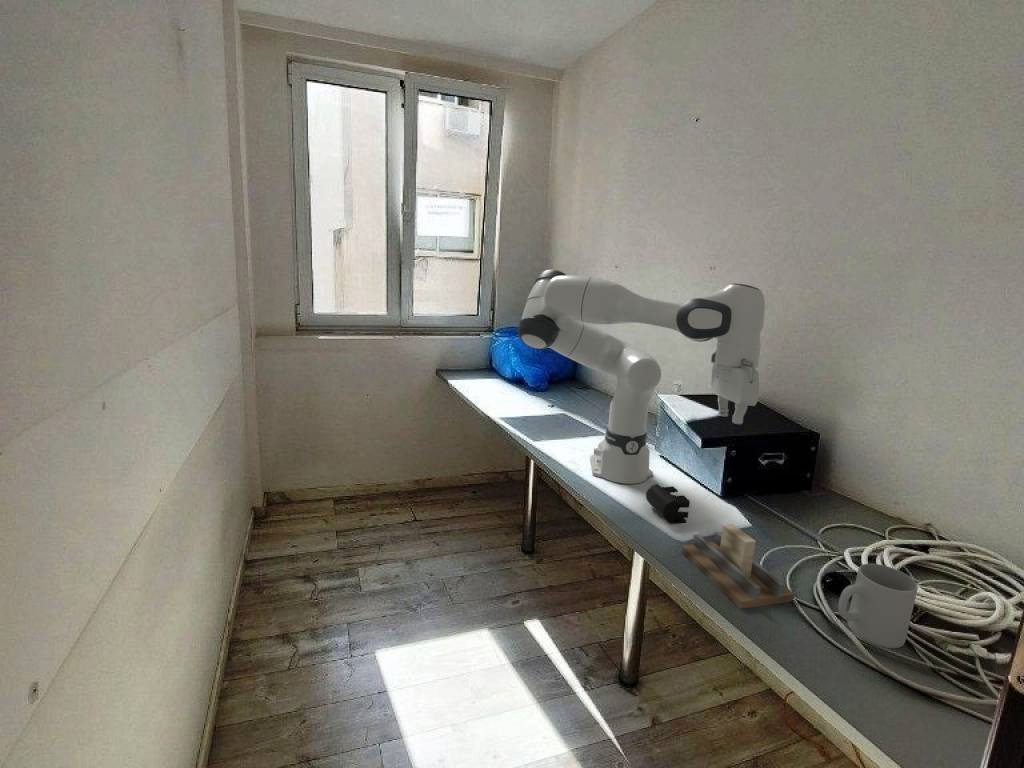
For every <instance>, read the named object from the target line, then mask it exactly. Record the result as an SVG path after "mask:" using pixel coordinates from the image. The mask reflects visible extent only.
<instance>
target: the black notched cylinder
mask: <svg viewBox="0 0 1024 768" xmlns="http://www.w3.org/2000/svg"><path fill="white" fill-rule="evenodd" d="M678 492H679V490H678V489H677V488H676V487H675V486H661V485H660V483H654V484H652V485H651V486H650V487H649V488H648V489H647V490H646V494H645V498H646V501H647V503H648V504H649V505H650V506H651V507H652V508H653V509H654V510H655V511H656V512H657V513H658V514H659V515H660V516H661V517H662V518H663V519H664V520H665V521H666V522H667V523H668V524H671V525H677V524H678V525H679V524H687V523H688V522H687V519H688V518H689V513H690V512H689V511H682V510H681V511H679V510H680V509H685V508H687V509H688V508H690V504H691V503H690V500H689V498H687V497H686V496H685V495H675V494H672V493H678Z"/></svg>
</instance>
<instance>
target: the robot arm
mask: <svg viewBox="0 0 1024 768" xmlns="http://www.w3.org/2000/svg"><path fill="white" fill-rule="evenodd" d="M765 299H766V298H765V295H764V293H763V292H762V290H761V289H759V288H758V287H755V286H752V285H748V284H743V283H729V284H727V285H726V286H725V287H722V288H721V289H719V290H717V291H715V292H712V293H709V294H707V295H702V296H699V297H695V298H691V299H688V300H687V301H686V302H684V303H677V302H670V301H664V300H658V299H653V298H648V297H645V296H642V295H639V294H637V293H635V292H634V291H631V290H630V289H628V288H627V287H625V286H623V285H621V284H620V283H619V284H618V283H616V282H614V281H611V280H608V279H604V278H601V277H594V276H589V275H576V274H566V273H565V272H563V271H561V270H557V269H546V270H545V269H544V270H542V272H541V273H540V274H539V275H538V276H537V278H536V279H535V282H534V285H533V287H532V288H531V291H530V292H529V294H528V296H527V299H526V301H525V306H524V309H523V313H522V316H521V320H520V321H519V323H518V328H517V335H518V338H519V339H520V341H521V342H522V343H523V344H525V345H526V346H529V347H530V348H533V349H536V350H546V349H548V348H550V349H552V350H553V351H554V352H556V353H558V354H560V355H562V356H563V357H566V358H568V359H570V360H573V361H574V362H575V363H578V364H580V365H582V366H585V367H587V368H589V369H591V370H594V371H597V372H600V373H602V374H604V375H607V376H608V377H611V378H613V379H614V380H616V386H615V391H614V396H613V399H612V400H611V401H610V405H609V413H608V414H609V415H608V423H607V424H608V425H607V428H606V431H605V436H604V439H603V440H602V441H600V442H599V443H598V445H597V448H596V447H594V448H593V454H592V455H590V456H589V461H590V462H589V463H590V466H591V467H590V468H591V469H590V470H591V473H592V475H593V476H595V477H598V478H602V479H605V480H608V481H611V482H614V483H619V484H627V485H628V484H630V485H631V484H641V483H643V482H645V481H646V480H647V479H648V478H649V477H652V476H654V472H653V470H652V469H650V452H651V451H650V449H649V447H647V446H646V445H647V440H648V436H647V435H648V432H647V423H648V412H649V408H650V403H651V400H652V397H653V393H654V391H655V388H656V387H657V386H658V384H659V383H660V381H661V378H662V370H661V367H660V364H659V363H658V362H657V360H656V359H655V358H654V357H653V356H652V355H651V354H649V353H647V352H645V351H643V350H641V349H639V348H637V347H635V346H633V345H631V344H630V343H627V342H625V341H623V340H621V339H619V338H617V337H614V336H613V335H611V334H608V333H607V332H605V331H603V330H600V329H598V328H597V327H594V326H593V324H595V325H618V324H631V323H634V324H635V323H636V324H644V325H645V324H646V325H650V326H656V327H661V328H667V329H671V330H674V331H676V332H679V333H681V334H682V335H683V336H684V337H686V338H687V339H690V340H691V341H694V342H707V341H711V340H713V339H716V340H717V343H716V350H715V351H714V352H713V353H712V354H711V358H710V363H711V364H712V366H711V367H712V368H711V378H710V379H711V382H710V385H711V386H710V388H711V393H712V394H714V395H716V396H717V402H718V403H717V405H718V414H717V415H718V416H721V417H724V418H725V417H728V416H729V412H730V411H729V408H728V407H729V406H728V404H729V401H730V402H732V403H734V408H735V409H734V413H733V414H732V415H731V416H732V417H731V418H732V419H731V422H732V423H733V424H735V425H742V424H744V423H743V422H744V416H745V415H746V412H747V410H748V406H752V407H755V406H756V405H757V403H758V401H759V391H760V373H759V370H757V368H759V362H760V355H761V353H760V352H761V346H762V344H761V333H762V330H763V328H764V324H765V323H764V321H765V311H766V310H765V309H766V301H765ZM590 324H592V325H590Z"/></svg>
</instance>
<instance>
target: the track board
mask: <svg viewBox="0 0 1024 768" xmlns="http://www.w3.org/2000/svg"><path fill="white" fill-rule="evenodd" d="M721 537H722V532H720V531H715V532H714V538H713V541H711V542H710V541H709V542H708V541H707V540H706V539H705V538H704V537H702V536H701V535H700V533H694V535H693V540H692V541H693V542H692V544H681V550H680V552H681V553H682V554H683V555H684V556H685V557H686V558H687V559H688V560H689V561H691V563H692V564H693V565H694V566H695V567H696V568H697V569H698V570H699V571H701V572H702V574H703V575H705V576H706V578H708V580H710V581H711V582H712V583H713V584H714V585H715V586H716V587H717V588H718V589H719V590H720V591H721V592H722V593H723V594H725V596H726V598H728V599H729V600H731V602H732V603H734V605H736V607H737V608H739V609H741V610H742V609H748V608H755V607H762V606H763V607H764V606H769V605H775V604H782V603H783V604H784V603H788V602H789V603H790V602H793V601H792V600H793V599H794V600H795V596H796V594H795V592H793V591H792V590H790V589H789V588H788V587H787V586H786V585H785V583H784V582H782V581H781V580H780V579H779V578H778V577H776V576H775V575H774V574H773V573H772V572H770V571H769V570H768V569H766V568H765V567H764V566H763V565H761V564H760V563H759V562H758V561H756V560H755V559H754V558H753V563H752V569H751V575H750V577H748V576H746V575H745V574H744V573H743V572H742V571H741V570H740V569H738V568H737V567H736V566H735V565H734V564H733V563H731V562H730V561H729V560H728V559H727V558H726V557H724V556H723V555H722V554H721V553H720V552H719V551H720V544H721Z"/></svg>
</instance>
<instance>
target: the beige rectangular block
mask: <svg viewBox="0 0 1024 768" xmlns="http://www.w3.org/2000/svg"><path fill="white" fill-rule="evenodd" d="M721 530H722V532H721V534H722V537H721V544H720V551H719V552H720V553H721V554H722V555H723V556H724V557H726V558H727V559H728V560H729V561H730V562H731V563H733V564H734V565H735V566H736V567H737V568H738V569H740V570H741V571H742V572H743V573H744V574H745V575H746V576H748V577H750V575H751V569H752V563H753V559H754V555H755V550H756V549H755V548H756V543H757V541H756V540H755V539H754V538H752V537H751V536H750V535H748V534H747V533H745V532H744V531H743V530H742V529H741V528H740V527H738V526H736V525H735V524H731V523H730V524H723V525H722V529H721Z"/></svg>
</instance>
